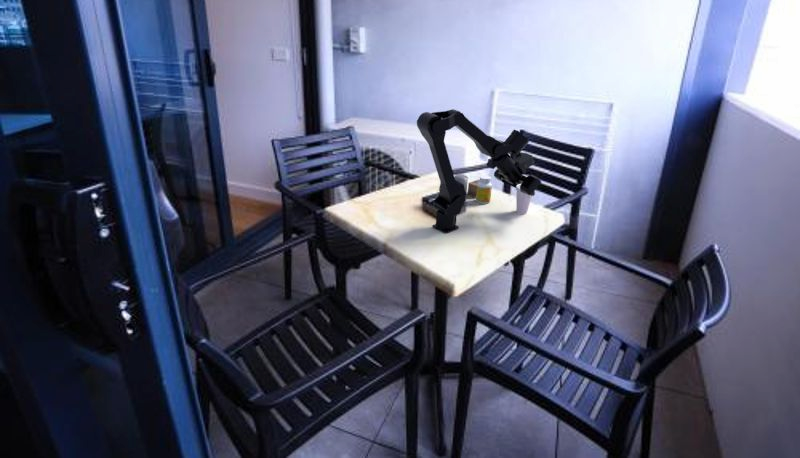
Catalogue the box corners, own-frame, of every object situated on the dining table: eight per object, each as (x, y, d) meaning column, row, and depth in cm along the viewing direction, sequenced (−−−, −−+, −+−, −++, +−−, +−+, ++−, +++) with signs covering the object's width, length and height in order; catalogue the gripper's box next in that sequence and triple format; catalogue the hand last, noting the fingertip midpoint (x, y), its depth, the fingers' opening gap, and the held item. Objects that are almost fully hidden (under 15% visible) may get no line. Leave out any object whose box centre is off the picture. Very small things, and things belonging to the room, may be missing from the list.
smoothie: (532, 216, 167) (538, 178, 160) (514, 215, 167) (519, 177, 161) (528, 208, 172) (534, 172, 166) (510, 208, 172) (515, 171, 166)
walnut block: (477, 198, 181) (478, 186, 179) (467, 194, 184) (468, 182, 182) (487, 195, 184) (488, 183, 182) (477, 191, 188) (478, 179, 186)
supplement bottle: (474, 203, 176) (476, 178, 172) (477, 198, 181) (479, 174, 177) (488, 205, 175) (491, 180, 171) (491, 200, 179) (494, 175, 175)
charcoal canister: (460, 200, 179) (461, 180, 175) (450, 196, 182) (451, 176, 179) (468, 197, 182) (470, 177, 178) (459, 193, 185) (460, 173, 182)
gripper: (541, 154, 150) (561, 182, 159) (504, 140, 165) (524, 166, 174) (518, 181, 150) (540, 207, 159) (483, 164, 165) (505, 189, 174)
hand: (527, 191), depth 167 cm, fingers closed on smoothie, 6 cm apart
